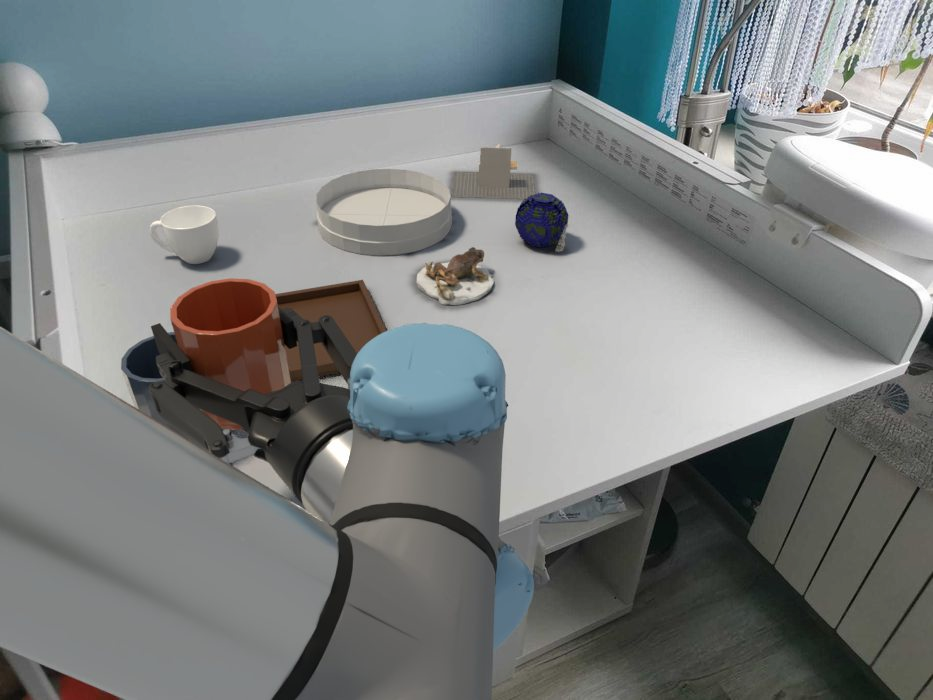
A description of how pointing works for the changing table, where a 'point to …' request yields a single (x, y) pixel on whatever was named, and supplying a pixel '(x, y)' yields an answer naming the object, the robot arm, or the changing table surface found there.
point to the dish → (384, 211)
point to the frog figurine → (456, 279)
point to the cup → (188, 233)
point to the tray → (347, 310)
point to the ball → (542, 221)
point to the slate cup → (144, 376)
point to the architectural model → (494, 177)
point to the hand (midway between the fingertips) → (210, 319)
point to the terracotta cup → (232, 336)
